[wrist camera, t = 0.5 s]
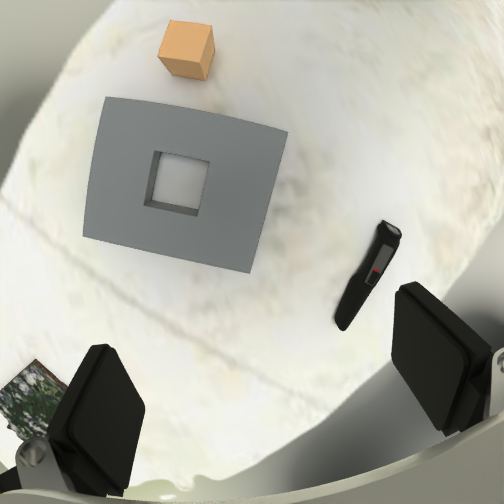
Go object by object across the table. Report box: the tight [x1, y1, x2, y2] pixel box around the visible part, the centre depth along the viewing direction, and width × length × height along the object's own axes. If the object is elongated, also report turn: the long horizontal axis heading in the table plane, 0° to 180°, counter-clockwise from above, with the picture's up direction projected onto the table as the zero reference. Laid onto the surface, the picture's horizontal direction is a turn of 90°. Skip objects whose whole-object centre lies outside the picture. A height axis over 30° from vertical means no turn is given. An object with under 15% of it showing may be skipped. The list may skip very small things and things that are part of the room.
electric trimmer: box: [335, 220, 402, 331], centre depth 39 cm, size 4×16×3 cm, turn 156°
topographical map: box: [0, 359, 68, 441], centre depth 46 cm, size 26×33×3 cm
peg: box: [157, 20, 215, 81], centre depth 26 cm, size 4×4×8 cm
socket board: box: [83, 97, 288, 274], centre depth 33 cm, size 16×20×4 cm
